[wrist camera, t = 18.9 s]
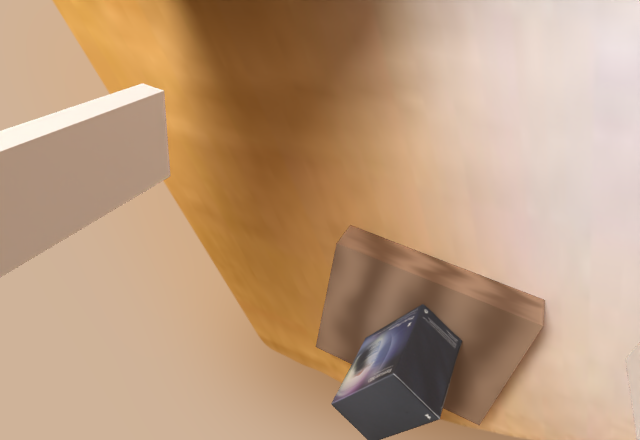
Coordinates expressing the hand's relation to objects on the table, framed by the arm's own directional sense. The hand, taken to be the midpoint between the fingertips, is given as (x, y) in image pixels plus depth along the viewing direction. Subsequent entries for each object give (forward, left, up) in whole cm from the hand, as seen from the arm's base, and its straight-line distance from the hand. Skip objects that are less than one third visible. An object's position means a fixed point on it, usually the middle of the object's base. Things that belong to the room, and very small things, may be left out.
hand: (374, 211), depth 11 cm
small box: (+2, -33, -28) cm, 43 cm away
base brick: (+2, -33, -32) cm, 46 cm away
